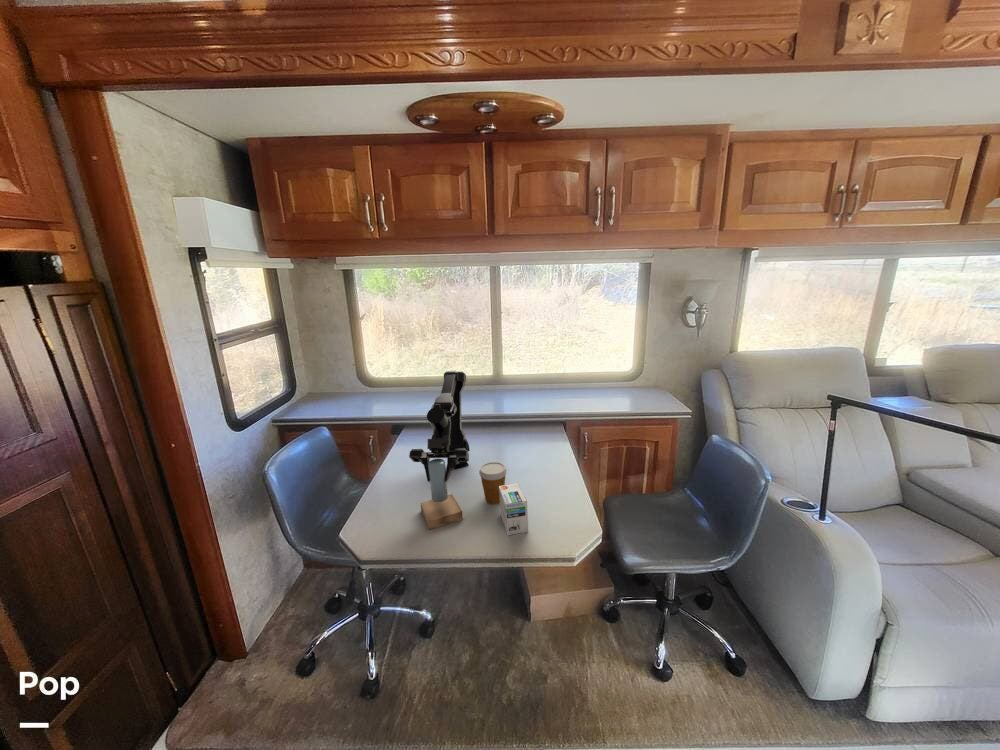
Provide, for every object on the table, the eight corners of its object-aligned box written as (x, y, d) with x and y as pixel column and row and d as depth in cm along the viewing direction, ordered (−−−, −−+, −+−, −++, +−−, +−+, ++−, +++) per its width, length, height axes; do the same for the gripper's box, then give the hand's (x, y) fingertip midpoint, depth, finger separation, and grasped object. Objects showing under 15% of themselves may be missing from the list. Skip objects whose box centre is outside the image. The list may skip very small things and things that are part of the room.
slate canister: (440, 491, 124) (437, 457, 121) (451, 496, 121) (448, 461, 118) (428, 498, 121) (424, 463, 117) (438, 504, 117) (435, 468, 114)
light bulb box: (528, 532, 112) (527, 500, 109) (507, 536, 111) (505, 504, 108) (519, 511, 122) (518, 482, 120) (499, 515, 121) (498, 485, 118)
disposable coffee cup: (477, 495, 132) (474, 465, 129) (501, 488, 136) (500, 458, 133) (486, 510, 124) (484, 477, 121) (512, 502, 127) (511, 470, 124)
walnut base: (452, 501, 129) (451, 494, 129) (463, 519, 120) (462, 511, 119) (421, 510, 125) (420, 502, 124) (429, 529, 115) (428, 521, 115)
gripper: (407, 426, 119) (400, 475, 112) (465, 425, 118) (462, 474, 110) (416, 438, 129) (411, 484, 121) (470, 437, 128) (467, 483, 120)
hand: (437, 481), depth 118 cm, fingers closed on slate canister, 5 cm apart
